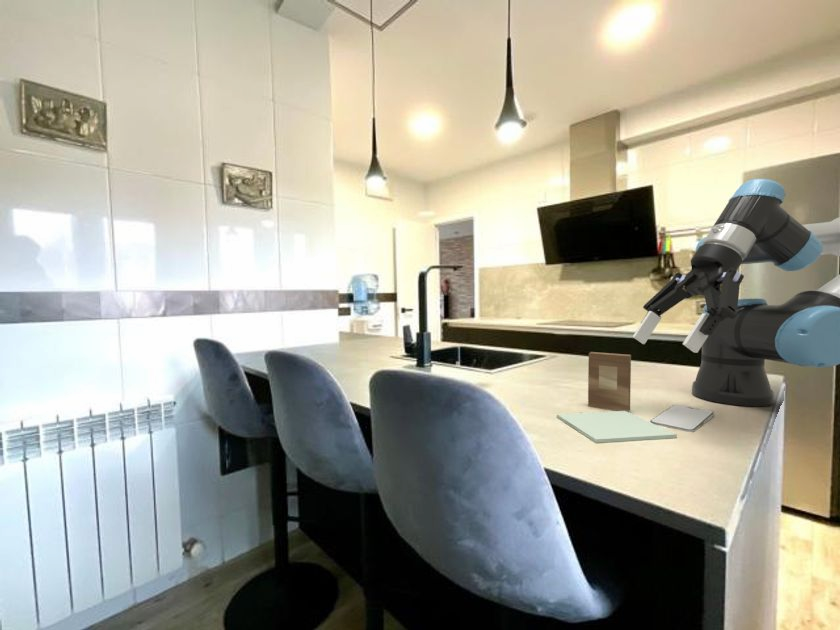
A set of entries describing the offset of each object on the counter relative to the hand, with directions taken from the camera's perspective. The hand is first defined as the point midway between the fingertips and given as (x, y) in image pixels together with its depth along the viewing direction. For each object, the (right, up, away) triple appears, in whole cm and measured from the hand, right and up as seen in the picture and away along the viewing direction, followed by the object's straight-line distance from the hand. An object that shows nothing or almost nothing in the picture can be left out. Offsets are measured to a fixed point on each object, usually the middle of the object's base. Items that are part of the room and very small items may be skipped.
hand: (661, 344), depth 75 cm
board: (-5, -15, +10) cm, 19 cm away
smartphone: (+6, -16, +3) cm, 17 cm away
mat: (-10, -15, -1) cm, 19 cm away
